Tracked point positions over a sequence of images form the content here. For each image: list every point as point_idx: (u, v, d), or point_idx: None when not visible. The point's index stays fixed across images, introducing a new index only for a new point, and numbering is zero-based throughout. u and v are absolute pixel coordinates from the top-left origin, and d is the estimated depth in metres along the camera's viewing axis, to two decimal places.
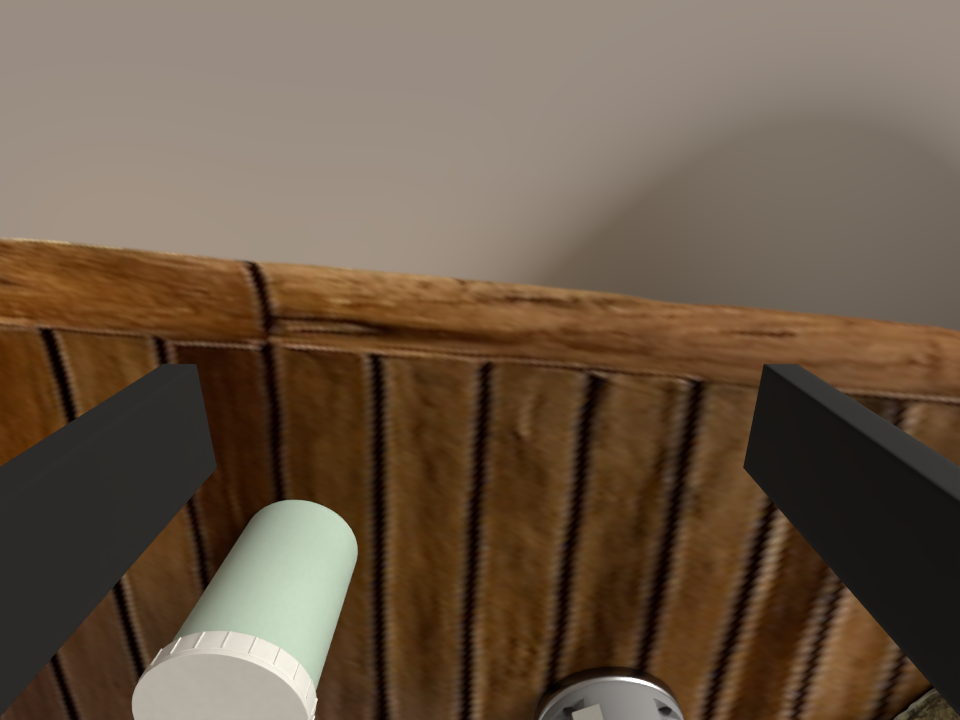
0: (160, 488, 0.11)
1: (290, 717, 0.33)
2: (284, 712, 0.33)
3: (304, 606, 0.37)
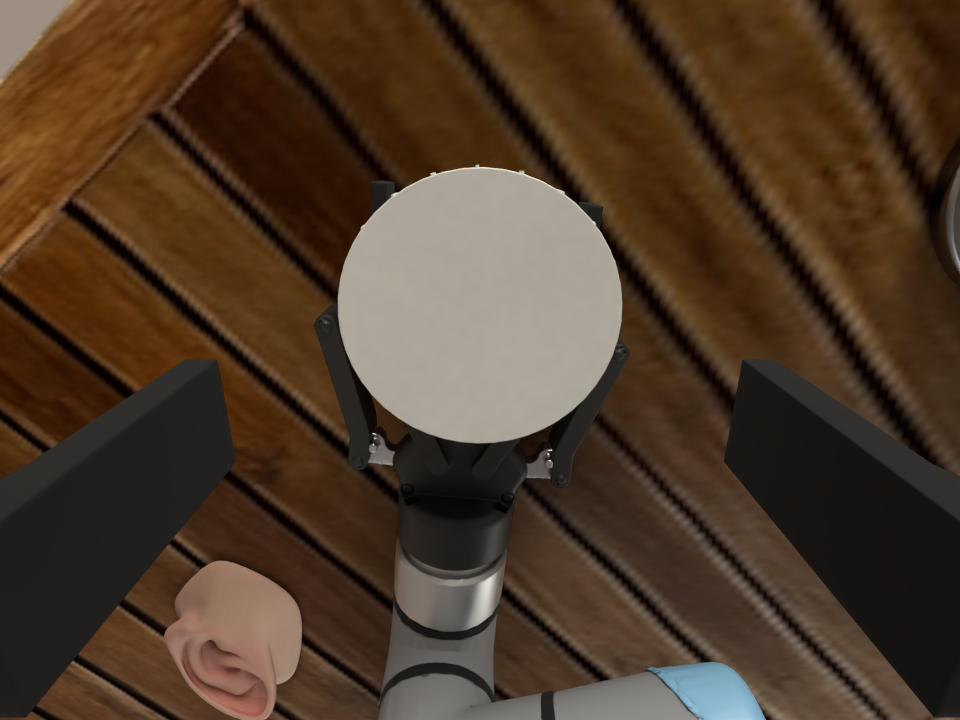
0: (185, 480, 0.11)
1: (564, 237, 0.19)
2: (549, 234, 0.19)
3: None
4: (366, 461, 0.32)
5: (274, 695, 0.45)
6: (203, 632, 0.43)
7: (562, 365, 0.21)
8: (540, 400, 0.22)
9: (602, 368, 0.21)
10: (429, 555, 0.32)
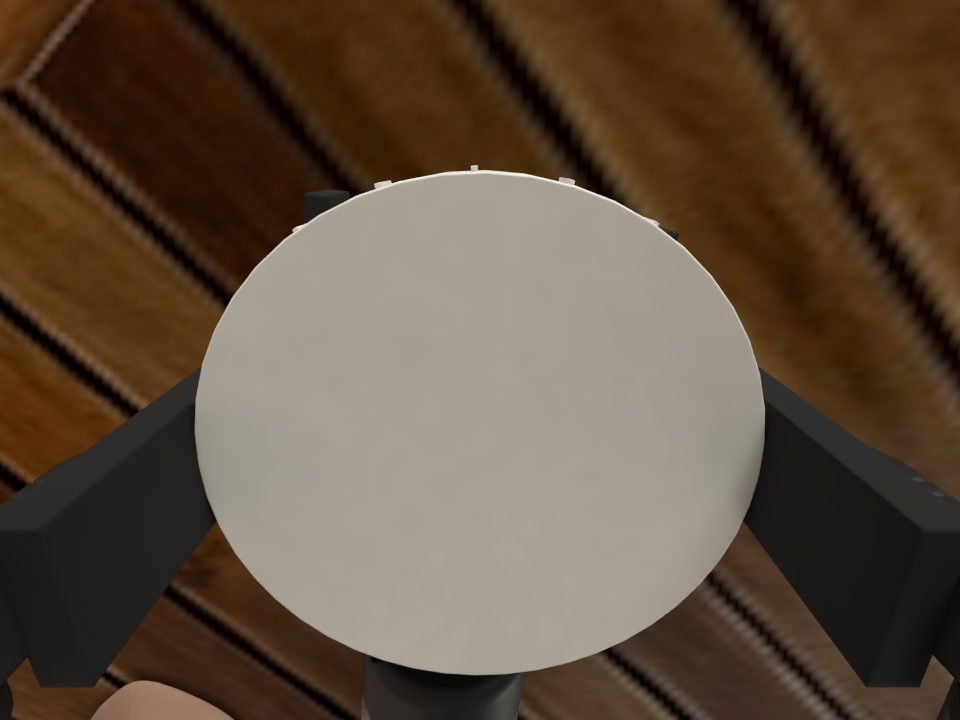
0: None
1: (657, 317, 0.09)
2: (626, 311, 0.09)
3: None
4: None
5: None
6: None
7: (638, 552, 0.11)
8: (593, 608, 0.12)
9: (715, 556, 0.11)
10: None
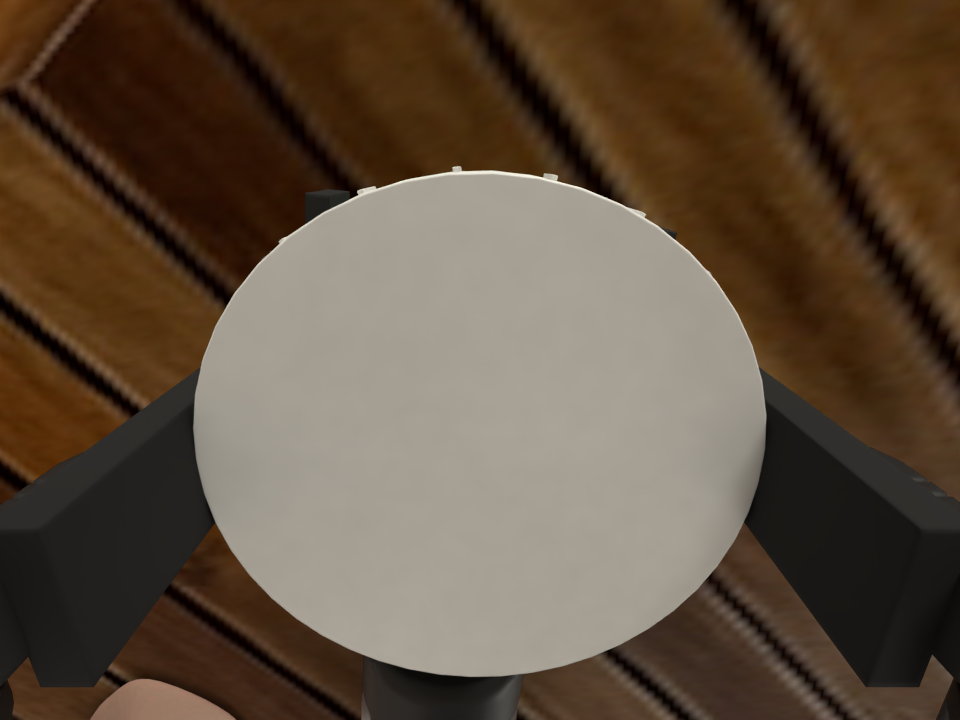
0: None
1: (305, 314, 0.09)
2: (302, 343, 0.09)
3: None
4: None
5: None
6: None
7: (597, 307, 0.09)
8: (677, 354, 0.09)
9: (613, 212, 0.09)
10: None
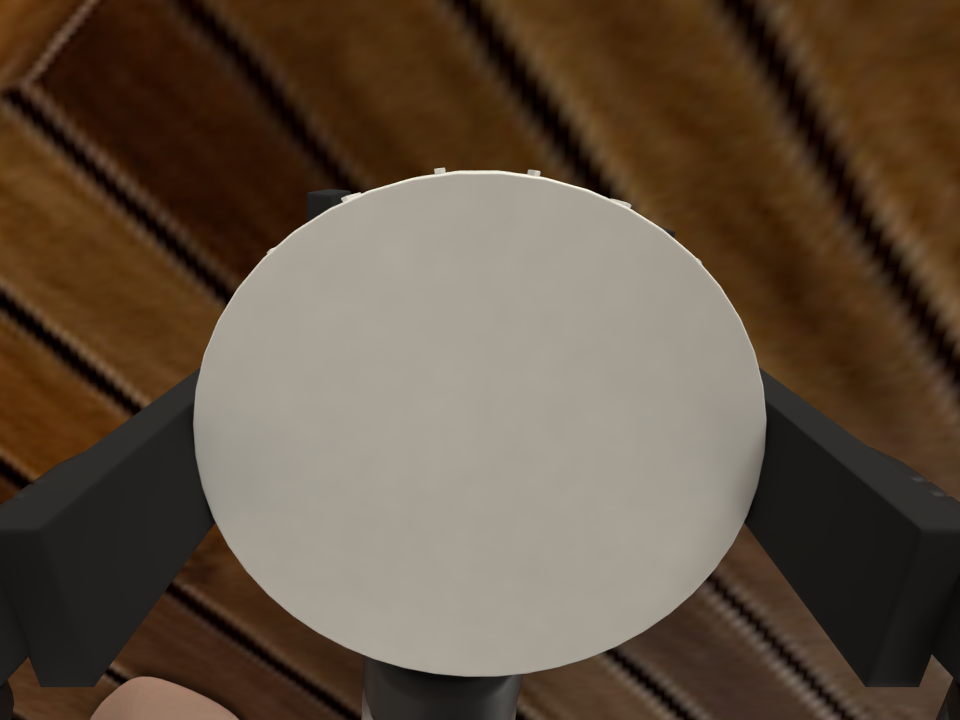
0: None
1: (329, 591, 0.11)
2: (354, 596, 0.11)
3: None
4: None
5: None
6: None
7: (301, 370, 0.10)
8: (342, 289, 0.09)
9: (210, 361, 0.09)
10: None
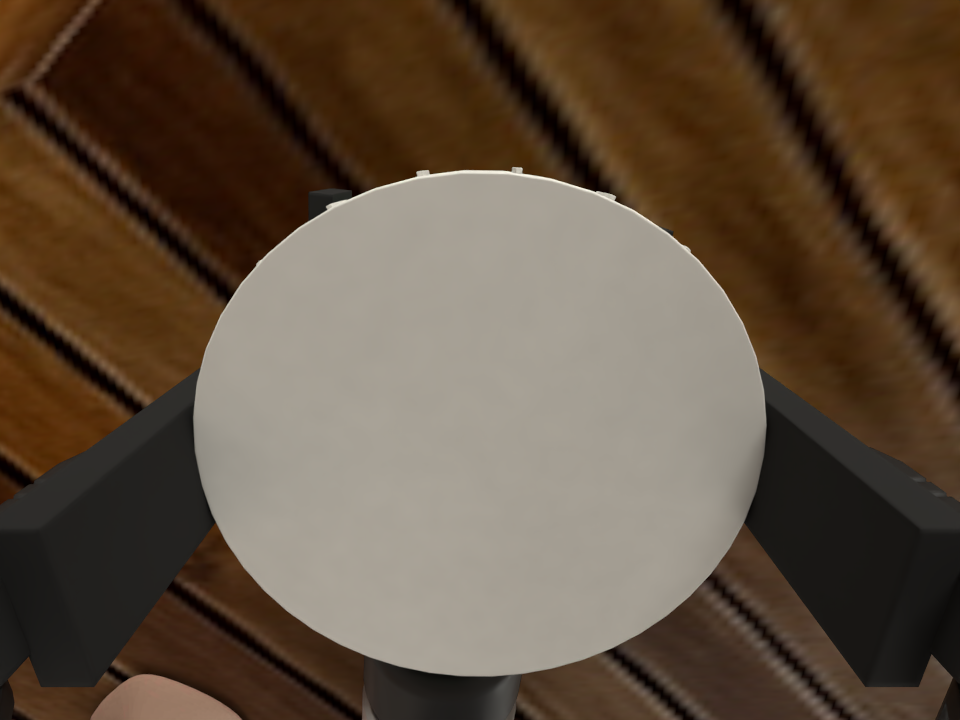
0: None
1: (613, 602, 0.11)
2: (622, 583, 0.11)
3: None
4: None
5: None
6: None
7: (378, 598, 0.11)
8: (306, 564, 0.11)
9: (374, 654, 0.12)
10: None
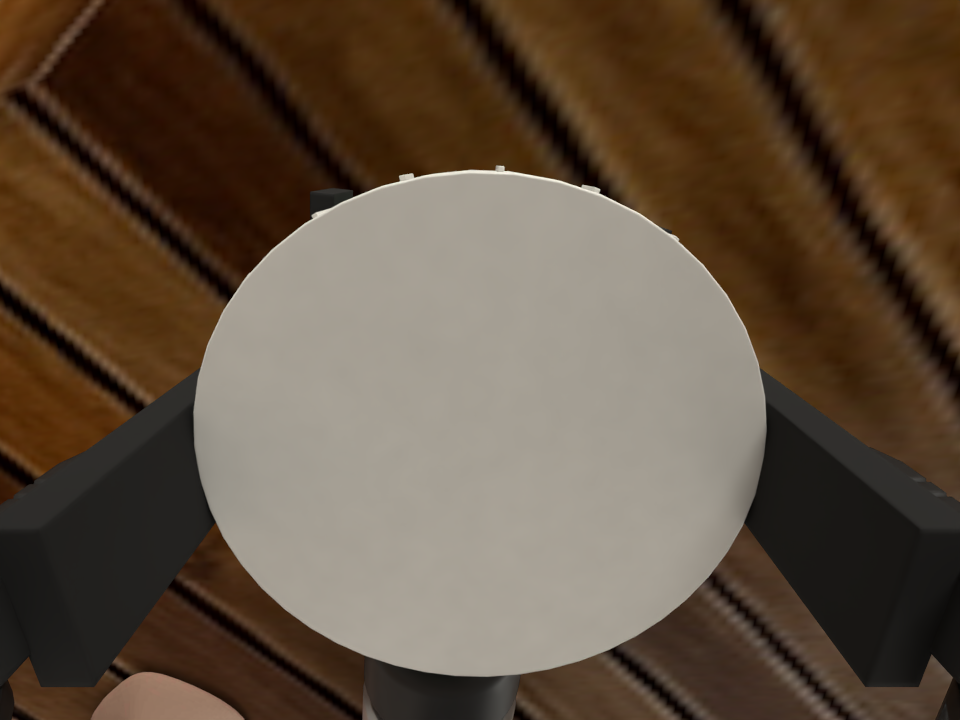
0: None
1: (669, 332, 0.09)
2: (640, 323, 0.09)
3: None
4: None
5: None
6: None
7: (630, 563, 0.11)
8: (580, 616, 0.12)
9: (704, 572, 0.11)
10: None
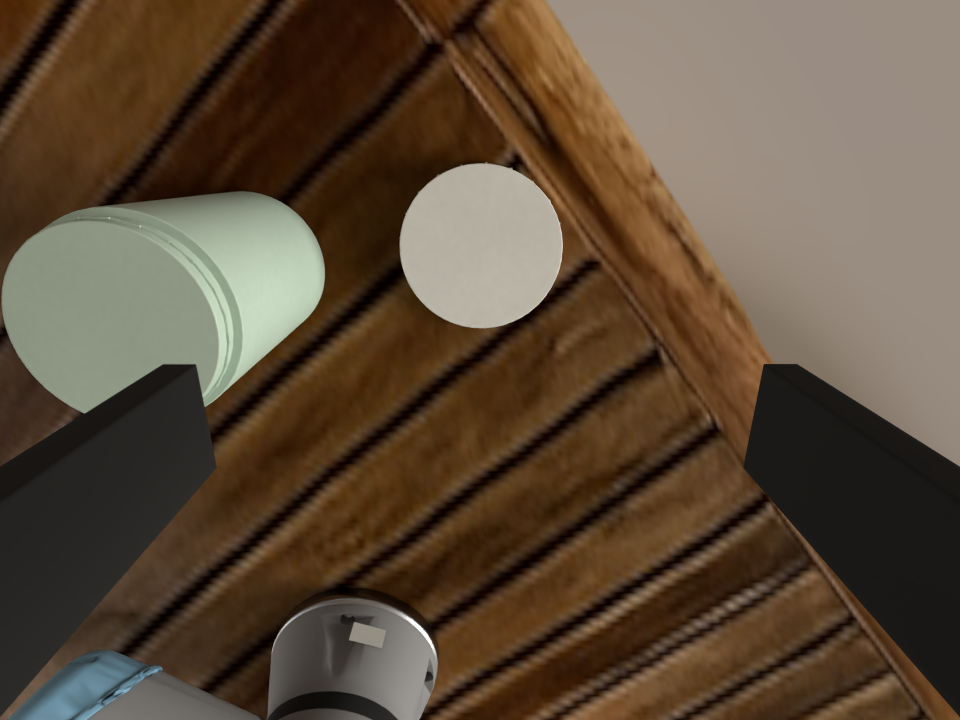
0: (160, 488, 0.11)
1: (531, 206, 0.35)
2: (523, 204, 0.35)
3: (272, 309, 0.28)
4: None
5: None
6: None
7: (526, 282, 0.36)
8: (512, 303, 0.37)
9: (549, 286, 0.37)
10: None
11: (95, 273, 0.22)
